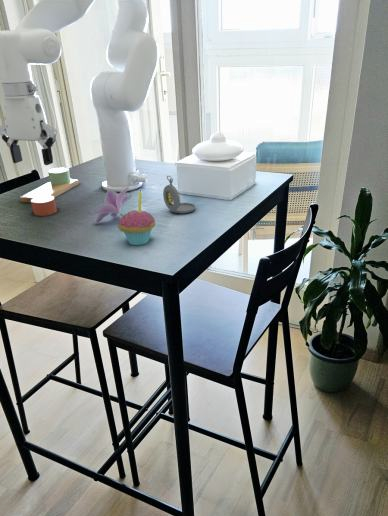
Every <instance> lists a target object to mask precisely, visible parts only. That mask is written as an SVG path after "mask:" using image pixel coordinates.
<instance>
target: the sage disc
mask: <svg viewBox="0 0 388 516" xmlns="http://www.w3.org/2000/svg"><path fill="white" fill-rule="evenodd" d="M47 173H48V178H49V182H50V183H51V184H54V185H61V184H66V183H69V182H70V181H71V179H72V178H71V174H70V169H69V168H68V167H55V168H51V169H49V170H48V171H47Z"/></svg>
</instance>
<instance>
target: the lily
mask: <svg viewBox="0 0 388 516" xmlns="http://www.w3.org/2000/svg"><path fill="white" fill-rule="evenodd" d="M128 188H129V187H127V188H125V189H124V190H123V191H121V192H115V191H113V190H111V189H109V190H108V191H106V192H105V196H104V200H103V201H104V204H103V205H102V206H100V207H99V208H98V209H97V210H95V211H94V214H98V215H97V217H96V220H95V222H94V224H95V225H97V224H98V223H100V222H101V221H102V220H103V219H104V218H106V217H107V216H109V215H110V216H111V217H112V218H115V219H116V218H117V217H118V214H119V215H120V216H121V217H122V216H123V214H122V213H121V209H122V205H123V204H124V203H125V202H127V201H128V200H130V199H131V198H132V195H131V194H130V195H129V194H126V193H127V192H128V191H127V190H128Z"/></svg>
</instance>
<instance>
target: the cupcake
mask: <svg viewBox="0 0 388 516" xmlns="http://www.w3.org/2000/svg"><path fill="white" fill-rule="evenodd" d="M137 201H138V203H137V204H138V205H137V210H135V209H134V210H130V211H128V212H127V213H125V214H122V216H121V217H119V219H118V230H119V231H120V232H123V233H124V235H125V237H126V239H127V241H128V243H129V245H133V246H142V245H145V244H148V243H149V241H150V236H151V233H152V230H153V229H154V228H155V226H156V219H155V218H154V216H153V215H152V214H151V213H150V212H147V211H145V210H142V188H139V192H138V199H137Z"/></svg>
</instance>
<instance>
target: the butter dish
mask: <svg viewBox="0 0 388 516" xmlns="http://www.w3.org/2000/svg"><path fill="white" fill-rule="evenodd" d="M191 152H192V154H189V155H187V156H185V157H183V158H181V159H179V160H177V161H175V162H174V165H175V166H176V176H177V177H176V178H177V191H178V193H179V195H180V194H181V195H189V196H196V197H204V198H211V199H218V200H225V201H232V200H234V199H235V198H236V197H238V196H240V195H241V194H242V193H244V192H245V191H247V190H248V189H249V188H251V187H253V186H254V185H256V183H257V155H256V152H246V151H245V152H244V147H243V145H242V144H241V143H239V142H237V141H234V140H230V139H227V136H226V135H225V134H224V133H223V132H222V131H214V132H213V133H212V134H211V135H210V138H209V140H205V141H202V142H200V143H197V144H196V145H195V146H194V147H193V148H192V151H191Z"/></svg>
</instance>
